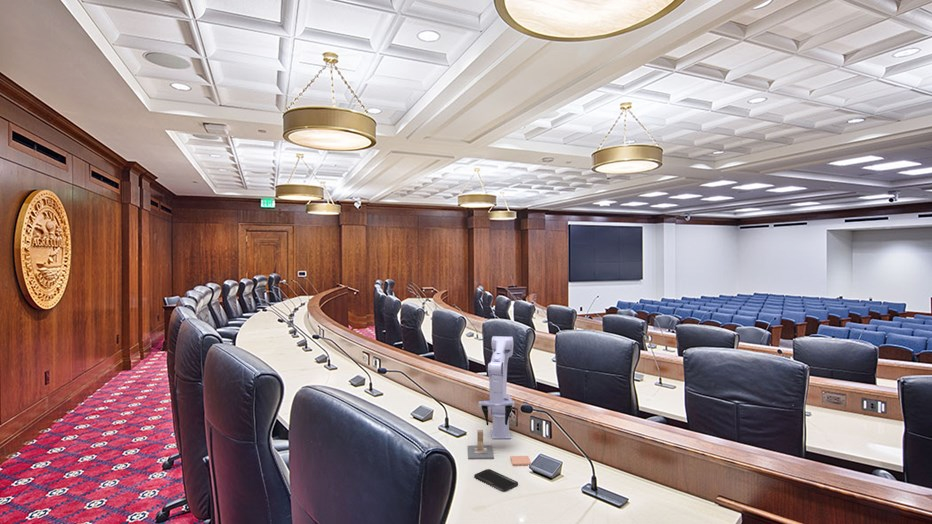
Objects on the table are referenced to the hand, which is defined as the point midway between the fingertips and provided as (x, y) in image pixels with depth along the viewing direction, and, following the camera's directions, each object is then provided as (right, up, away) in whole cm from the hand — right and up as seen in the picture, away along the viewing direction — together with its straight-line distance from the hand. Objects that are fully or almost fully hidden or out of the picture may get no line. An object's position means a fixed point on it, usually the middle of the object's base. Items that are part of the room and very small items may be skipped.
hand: (496, 424), depth 184 cm
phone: (-2, -10, -28) cm, 30 cm away
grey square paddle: (-7, -9, -5) cm, 13 cm away
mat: (-7, -10, -4) cm, 13 cm away
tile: (+8, -10, -9) cm, 16 cm away
